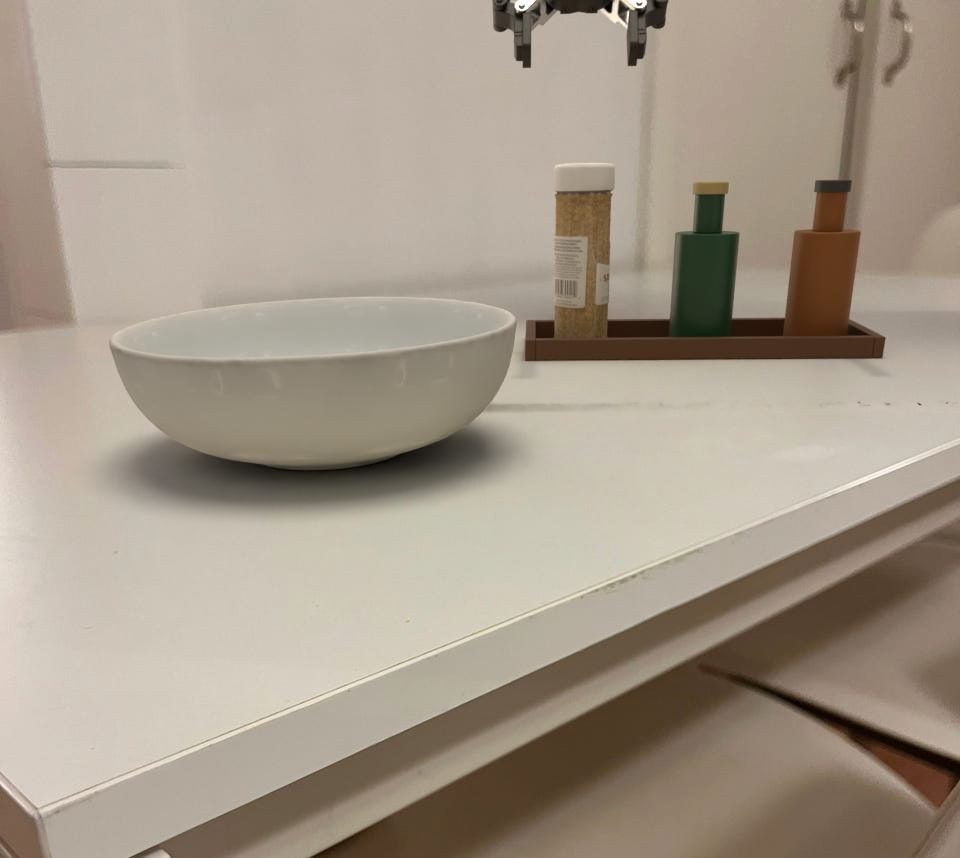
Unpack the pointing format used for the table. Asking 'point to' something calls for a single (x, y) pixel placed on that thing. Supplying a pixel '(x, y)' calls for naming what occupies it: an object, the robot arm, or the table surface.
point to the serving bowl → (316, 376)
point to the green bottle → (704, 269)
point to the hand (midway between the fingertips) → (580, 58)
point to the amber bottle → (823, 267)
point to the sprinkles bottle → (582, 249)
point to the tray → (699, 343)
